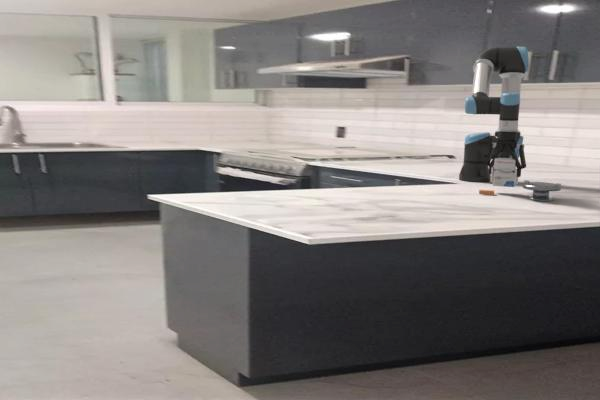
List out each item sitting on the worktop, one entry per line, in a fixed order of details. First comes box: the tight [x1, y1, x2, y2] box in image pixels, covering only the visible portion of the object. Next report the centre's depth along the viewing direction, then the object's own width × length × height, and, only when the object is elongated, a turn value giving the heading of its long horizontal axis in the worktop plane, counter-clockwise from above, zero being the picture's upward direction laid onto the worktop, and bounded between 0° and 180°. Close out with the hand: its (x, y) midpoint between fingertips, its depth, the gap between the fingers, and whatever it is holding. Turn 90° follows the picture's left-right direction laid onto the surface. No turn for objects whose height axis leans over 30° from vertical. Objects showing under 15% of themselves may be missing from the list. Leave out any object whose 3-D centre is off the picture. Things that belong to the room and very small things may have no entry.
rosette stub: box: [522, 179, 562, 202], centre depth 216 cm, size 14×14×7 cm
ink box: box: [492, 158, 517, 188], centre depth 228 cm, size 8×5×12 cm, turn 65°
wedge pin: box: [478, 189, 495, 196], centre depth 228 cm, size 6×2×2 cm, turn 71°
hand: (503, 183), depth 229 cm, fingers closed on ink box, 9 cm apart
